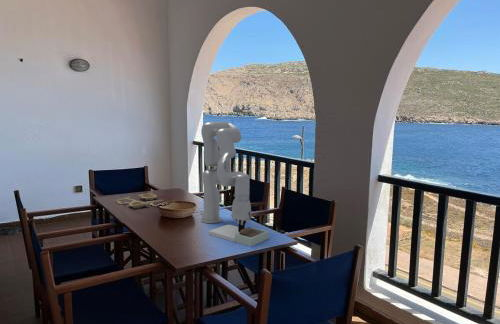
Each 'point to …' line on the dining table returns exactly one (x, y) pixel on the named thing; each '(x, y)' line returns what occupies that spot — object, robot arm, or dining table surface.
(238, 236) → the box
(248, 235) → the brown round disc
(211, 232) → the board
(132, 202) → the tableware set
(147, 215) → the dining table surface
